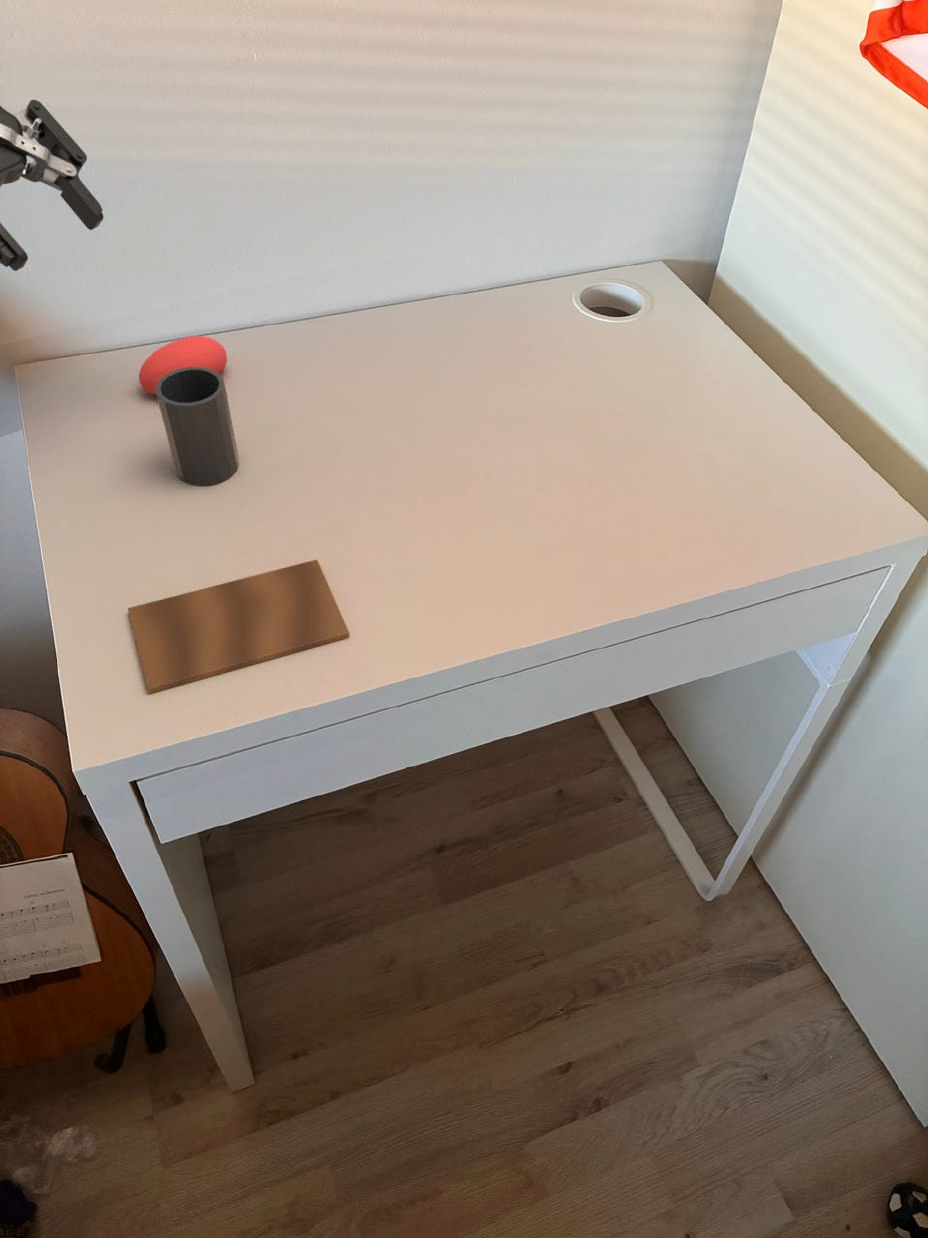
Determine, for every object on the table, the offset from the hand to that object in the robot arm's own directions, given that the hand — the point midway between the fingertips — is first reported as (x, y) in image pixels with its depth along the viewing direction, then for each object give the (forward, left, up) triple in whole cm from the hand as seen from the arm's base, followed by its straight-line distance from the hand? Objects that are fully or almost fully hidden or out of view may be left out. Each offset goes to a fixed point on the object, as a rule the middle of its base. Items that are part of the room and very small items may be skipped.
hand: (61, 243), depth 80 cm
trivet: (+5, -30, -19) cm, 36 cm away
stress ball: (+8, +5, -19) cm, 21 cm away
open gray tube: (+7, -9, -19) cm, 22 cm away
